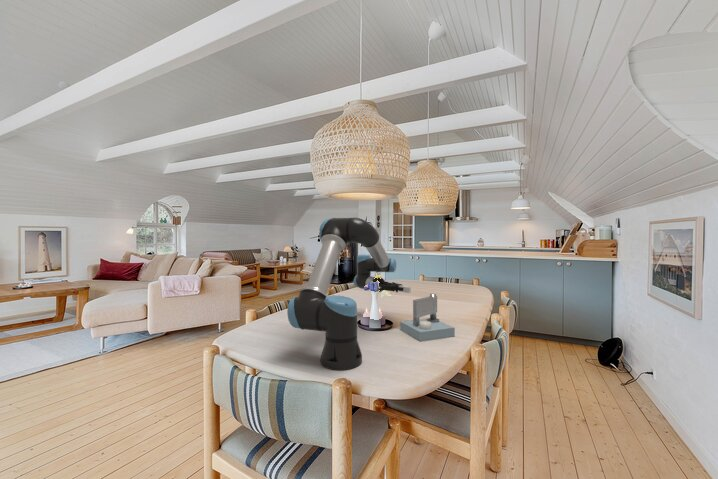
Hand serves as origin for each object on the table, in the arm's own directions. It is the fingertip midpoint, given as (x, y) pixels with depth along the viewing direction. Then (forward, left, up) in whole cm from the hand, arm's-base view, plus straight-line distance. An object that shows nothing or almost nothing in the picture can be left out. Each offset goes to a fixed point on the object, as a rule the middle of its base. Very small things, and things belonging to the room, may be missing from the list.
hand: (409, 290), depth 151 cm
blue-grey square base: (-8, -4, -19) cm, 21 cm away
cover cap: (-13, -1, -15) cm, 20 cm away
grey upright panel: (-6, -5, -15) cm, 17 cm away
